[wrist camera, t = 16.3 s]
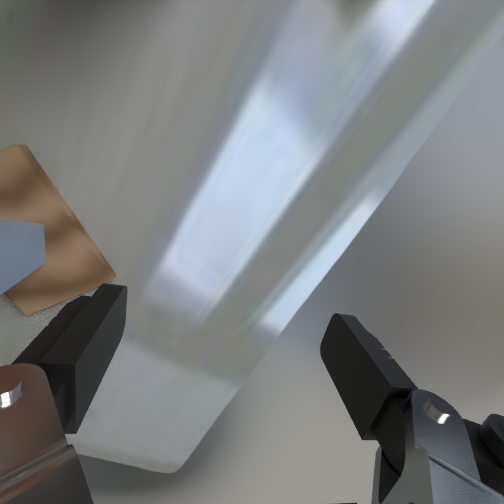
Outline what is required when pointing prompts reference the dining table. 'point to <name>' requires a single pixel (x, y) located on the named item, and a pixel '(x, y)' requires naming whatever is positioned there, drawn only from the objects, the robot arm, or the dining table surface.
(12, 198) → the post plate
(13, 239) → the block
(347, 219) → the dining table surface
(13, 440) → the robot arm
